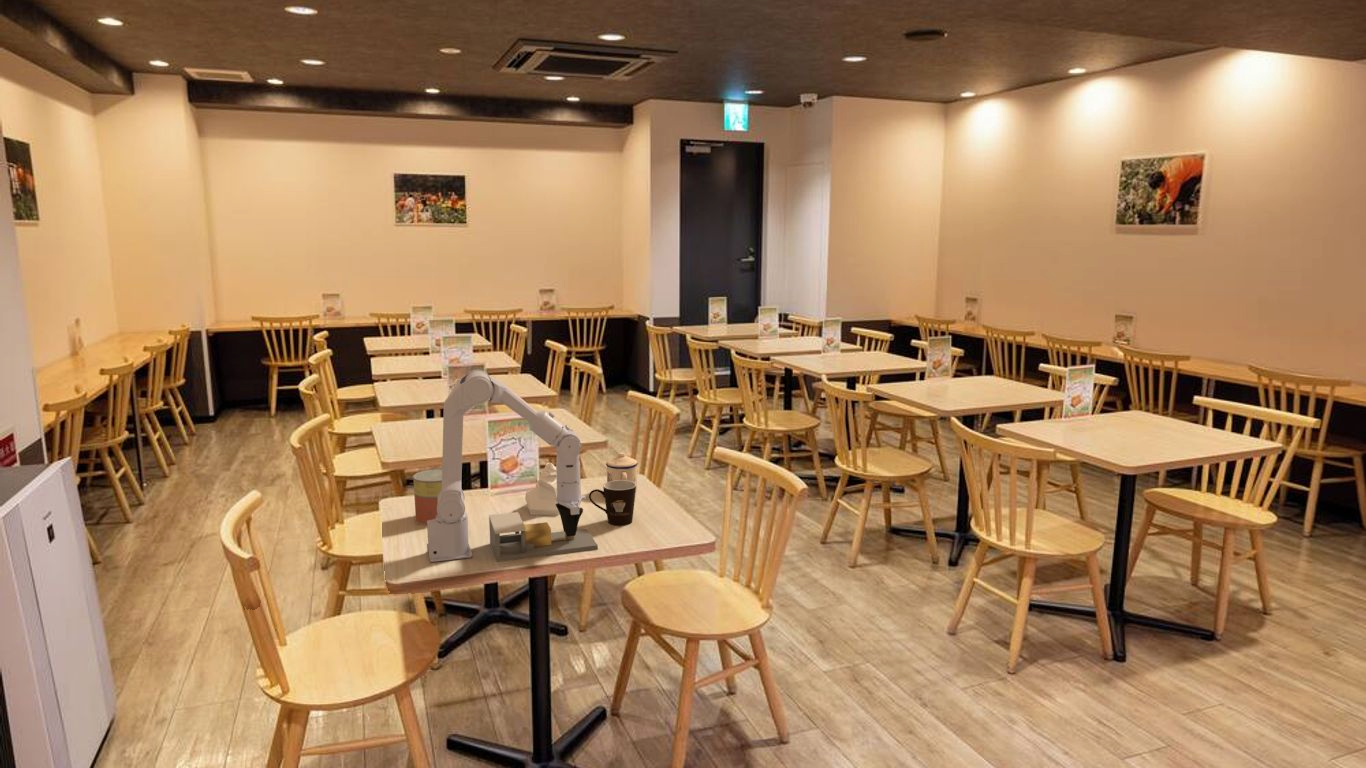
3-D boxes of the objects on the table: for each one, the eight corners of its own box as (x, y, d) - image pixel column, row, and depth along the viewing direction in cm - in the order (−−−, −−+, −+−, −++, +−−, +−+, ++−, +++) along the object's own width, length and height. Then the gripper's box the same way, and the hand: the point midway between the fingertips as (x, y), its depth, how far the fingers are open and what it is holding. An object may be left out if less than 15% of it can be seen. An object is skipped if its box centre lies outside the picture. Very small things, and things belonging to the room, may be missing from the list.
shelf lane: (496, 561, 198) (495, 531, 197) (490, 543, 210) (489, 515, 208) (597, 549, 206) (597, 520, 205) (586, 532, 217) (586, 504, 216)
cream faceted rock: (584, 508, 240) (590, 464, 235) (547, 528, 228) (553, 482, 223) (550, 490, 246) (556, 447, 240) (513, 509, 234) (518, 463, 228)
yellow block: (526, 547, 204) (525, 527, 203) (523, 540, 208) (522, 520, 208) (576, 541, 208) (575, 521, 207) (572, 534, 212) (571, 515, 211)
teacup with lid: (604, 487, 254) (604, 449, 252) (635, 486, 255) (635, 448, 253) (609, 500, 242) (608, 460, 240) (641, 498, 244) (640, 459, 242)
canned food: (457, 524, 223) (455, 480, 221) (412, 526, 221) (409, 482, 219) (461, 510, 234) (459, 467, 232) (418, 512, 232) (416, 469, 230)
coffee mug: (642, 519, 227) (642, 482, 225) (626, 529, 219) (626, 491, 218) (604, 512, 232) (603, 477, 230) (587, 522, 224) (586, 485, 222)
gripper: (591, 487, 202) (592, 542, 204) (578, 470, 215) (579, 522, 217) (561, 490, 199) (563, 545, 202) (550, 473, 213) (551, 525, 215)
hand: (569, 533), depth 209 cm, fingers closed on yellow block, 2 cm apart
